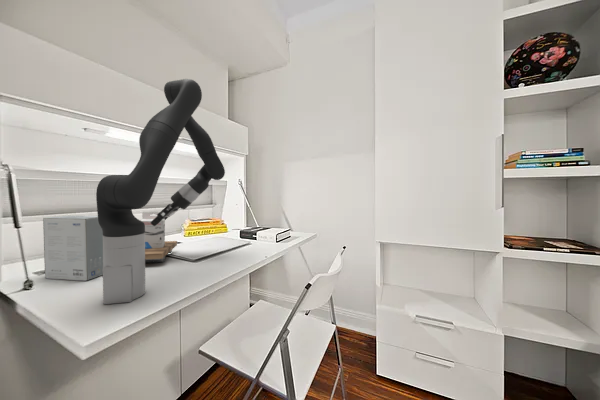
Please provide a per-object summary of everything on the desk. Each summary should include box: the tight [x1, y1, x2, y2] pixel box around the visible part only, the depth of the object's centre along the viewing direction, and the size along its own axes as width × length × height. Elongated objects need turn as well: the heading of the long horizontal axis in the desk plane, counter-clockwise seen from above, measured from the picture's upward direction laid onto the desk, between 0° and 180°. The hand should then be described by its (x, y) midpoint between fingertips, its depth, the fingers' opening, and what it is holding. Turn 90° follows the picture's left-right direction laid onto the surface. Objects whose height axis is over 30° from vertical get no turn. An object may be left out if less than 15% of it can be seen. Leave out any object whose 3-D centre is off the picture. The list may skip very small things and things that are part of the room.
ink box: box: [139, 211, 166, 249], centre depth 97 cm, size 8×5×15 cm, turn 113°
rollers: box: [145, 249, 173, 264], centre depth 97 cm, size 13×12×3 cm
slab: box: [145, 240, 178, 259], centre depth 97 cm, size 22×14×2 cm, turn 15°
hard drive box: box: [42, 215, 103, 282], centre depth 77 cm, size 16×8×20 cm, turn 84°
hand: (156, 223), depth 97 cm, fingers open, 8 cm apart
